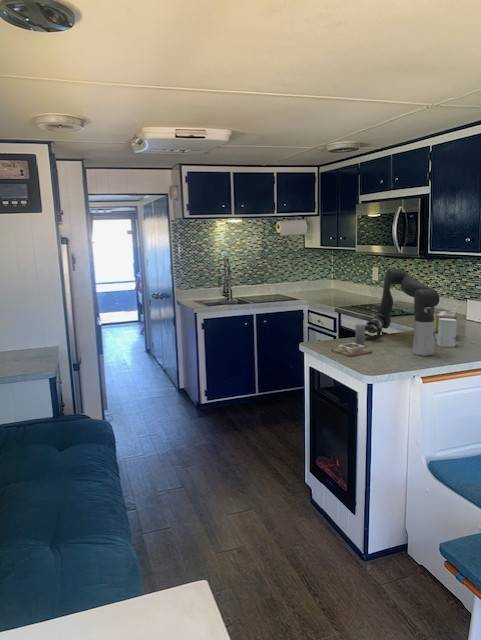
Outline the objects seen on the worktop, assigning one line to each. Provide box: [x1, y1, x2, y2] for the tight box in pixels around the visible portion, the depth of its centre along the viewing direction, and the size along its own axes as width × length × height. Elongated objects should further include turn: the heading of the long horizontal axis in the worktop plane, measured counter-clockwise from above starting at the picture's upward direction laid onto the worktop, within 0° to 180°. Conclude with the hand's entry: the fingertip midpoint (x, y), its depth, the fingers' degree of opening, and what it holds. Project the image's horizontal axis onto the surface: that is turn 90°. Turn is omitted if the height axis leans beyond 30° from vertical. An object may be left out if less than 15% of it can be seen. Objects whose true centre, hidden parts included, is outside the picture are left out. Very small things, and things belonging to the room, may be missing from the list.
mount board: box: [330, 342, 373, 358], centre depth 251 cm, size 15×15×4 cm
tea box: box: [435, 310, 458, 341], centre depth 277 cm, size 15×10×15 cm, turn 150°
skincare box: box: [436, 318, 458, 348], centre depth 259 cm, size 8×6×15 cm
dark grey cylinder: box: [354, 323, 366, 347], centre depth 261 cm, size 5×5×12 cm
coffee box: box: [424, 307, 435, 317], centre depth 290 cm, size 9×6×16 cm
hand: (365, 330), depth 269 cm, fingers open, 8 cm apart
